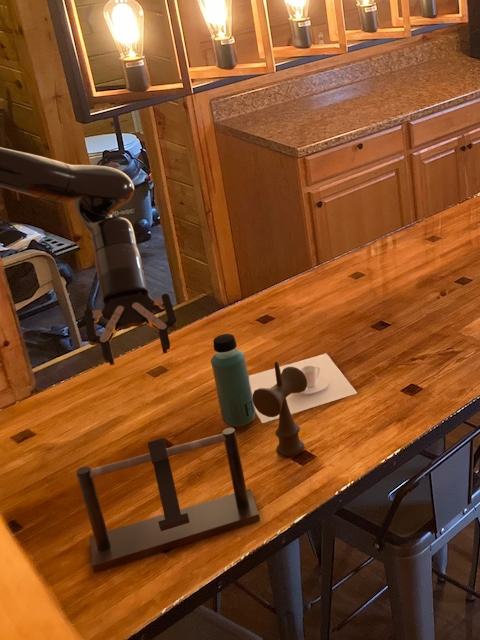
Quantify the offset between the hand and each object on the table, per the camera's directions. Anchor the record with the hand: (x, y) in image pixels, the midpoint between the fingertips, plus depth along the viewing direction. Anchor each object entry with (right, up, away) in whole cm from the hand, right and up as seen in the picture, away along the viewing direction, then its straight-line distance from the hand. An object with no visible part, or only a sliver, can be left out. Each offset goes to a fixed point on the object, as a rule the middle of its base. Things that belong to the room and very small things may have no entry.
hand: (139, 357), depth 166 cm
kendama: (+21, -20, +17) cm, 34 cm away
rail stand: (+8, -29, -4) cm, 31 cm away
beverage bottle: (+8, -17, +25) cm, 31 cm away
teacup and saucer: (+15, -11, +38) cm, 42 cm away
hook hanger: (+12, -25, -13) cm, 31 cm away
